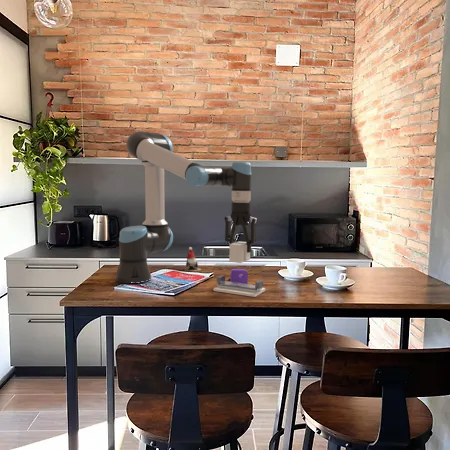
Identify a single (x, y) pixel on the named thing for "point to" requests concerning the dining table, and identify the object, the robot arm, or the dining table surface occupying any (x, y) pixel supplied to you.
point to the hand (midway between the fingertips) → (240, 259)
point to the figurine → (192, 261)
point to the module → (237, 252)
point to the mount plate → (239, 291)
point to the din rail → (239, 285)
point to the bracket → (239, 276)
